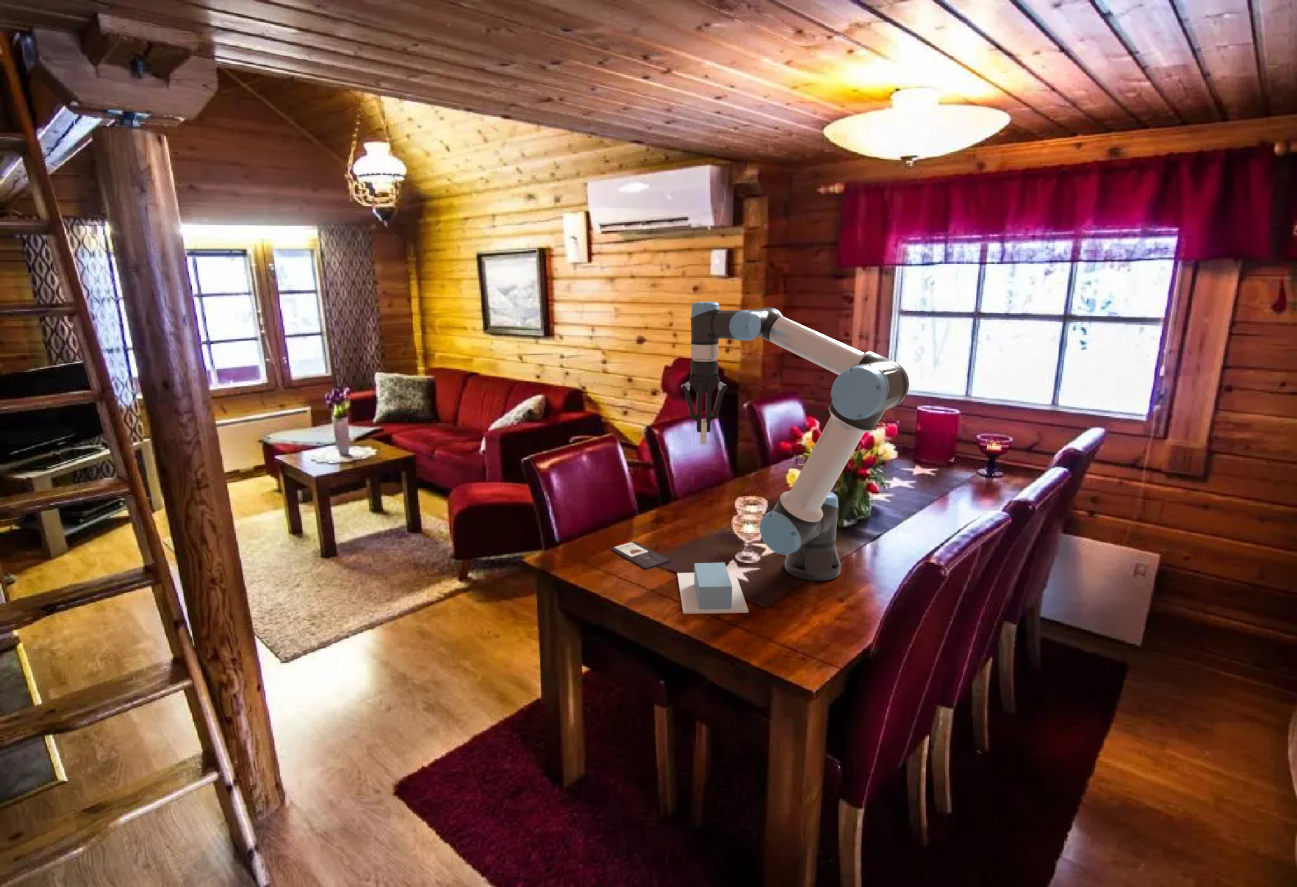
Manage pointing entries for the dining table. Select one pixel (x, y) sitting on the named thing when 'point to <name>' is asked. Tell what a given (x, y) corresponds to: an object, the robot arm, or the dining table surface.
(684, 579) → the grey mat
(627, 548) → the chocolate bar
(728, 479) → the dining table surface
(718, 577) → the blue block
